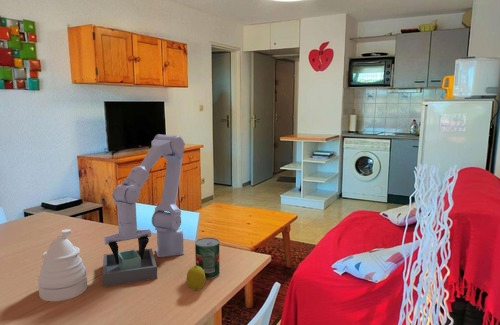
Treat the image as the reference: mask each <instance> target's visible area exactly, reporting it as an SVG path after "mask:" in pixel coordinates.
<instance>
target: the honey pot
mask: <svg viewBox="0 0 500 325" xmlns="http://www.w3.org/2000/svg"><path fill="white" fill-rule="evenodd" d="M71 232H72V229H70V228H69V229H68V228H66V229H63V230H61V234H62V236H61V235H60V236H57V237H55V238H54V239H53V240H52V242H51V243H50V245H49V246H48V248H47V250H46V251H45V252H43V253H42V256H41V257H42V259H43V261H42V264H41V265H40V271H39V275H38V278H37V282H38V295H39V298H40V299H41V300H43V301H45V302H47V301H48V302H61V301H66V300H71V299H74V298H76V297H77V296H80V295H81V294H82V293H85V291H86V290H87V288H88V278H87V268H86V267H85V265H84V263H83V259H82V258H81V257H80V255H79V254H80V253H81V249H80V248H79V247H78V246H76V245H74V244H73V243H72V242H71V241H70V240H69V239H68V237H69V236H70V235H71V234H72V233H71Z"/></svg>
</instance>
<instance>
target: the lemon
mask: <svg viewBox="0 0 500 325" xmlns="http://www.w3.org/2000/svg"><path fill="white" fill-rule="evenodd" d="M205 283H206V279H205V273H204V270H203V269H202V268H201V267H199V266H197V265H196V264H195V265H193V266H192V267H190V268H189V269H188V271H187V274H186V284H187V286H188V288H189V289H190V290H192V291H194V292H198V291H199V290H201V289H202V288H203V286H204V285H205Z"/></svg>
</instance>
